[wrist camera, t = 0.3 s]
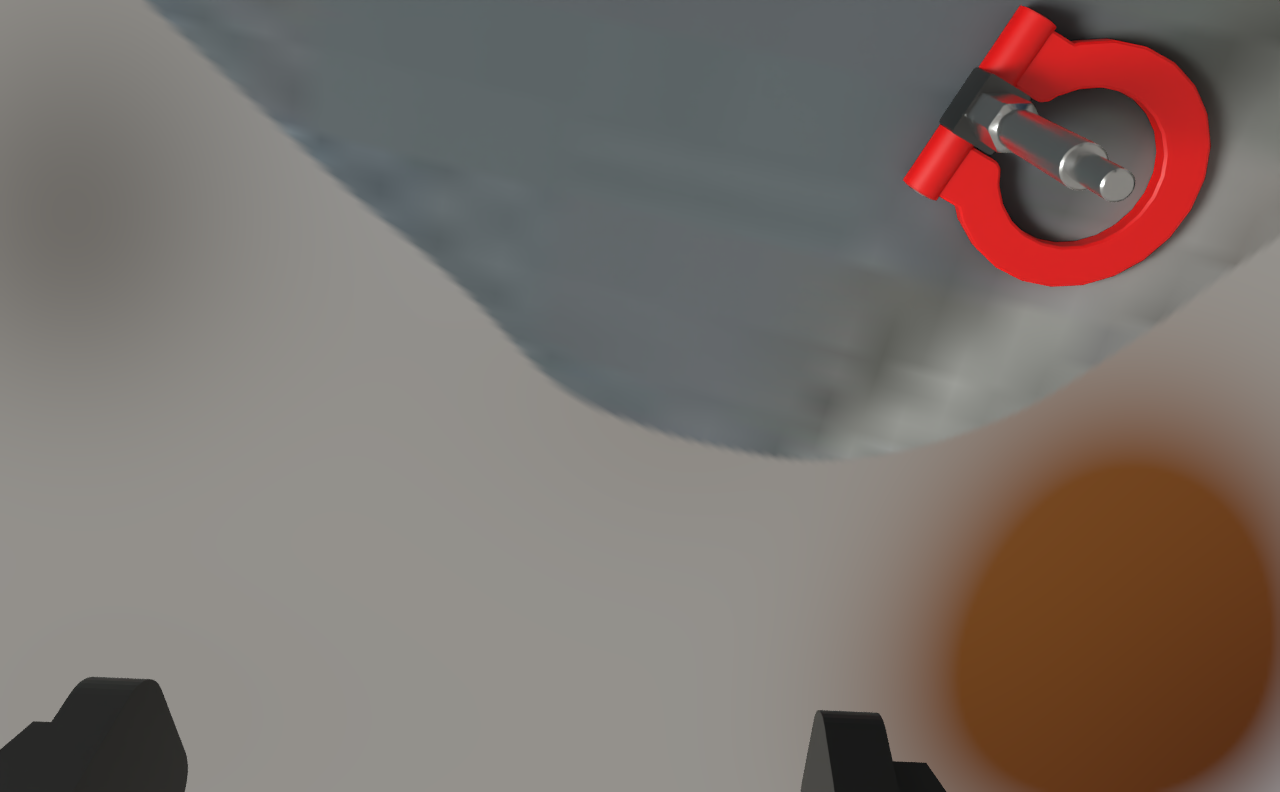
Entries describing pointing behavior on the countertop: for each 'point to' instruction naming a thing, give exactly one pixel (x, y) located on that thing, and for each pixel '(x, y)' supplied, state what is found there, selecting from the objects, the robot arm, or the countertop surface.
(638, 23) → the countertop surface
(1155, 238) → the tow hook
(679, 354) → the countertop surface
